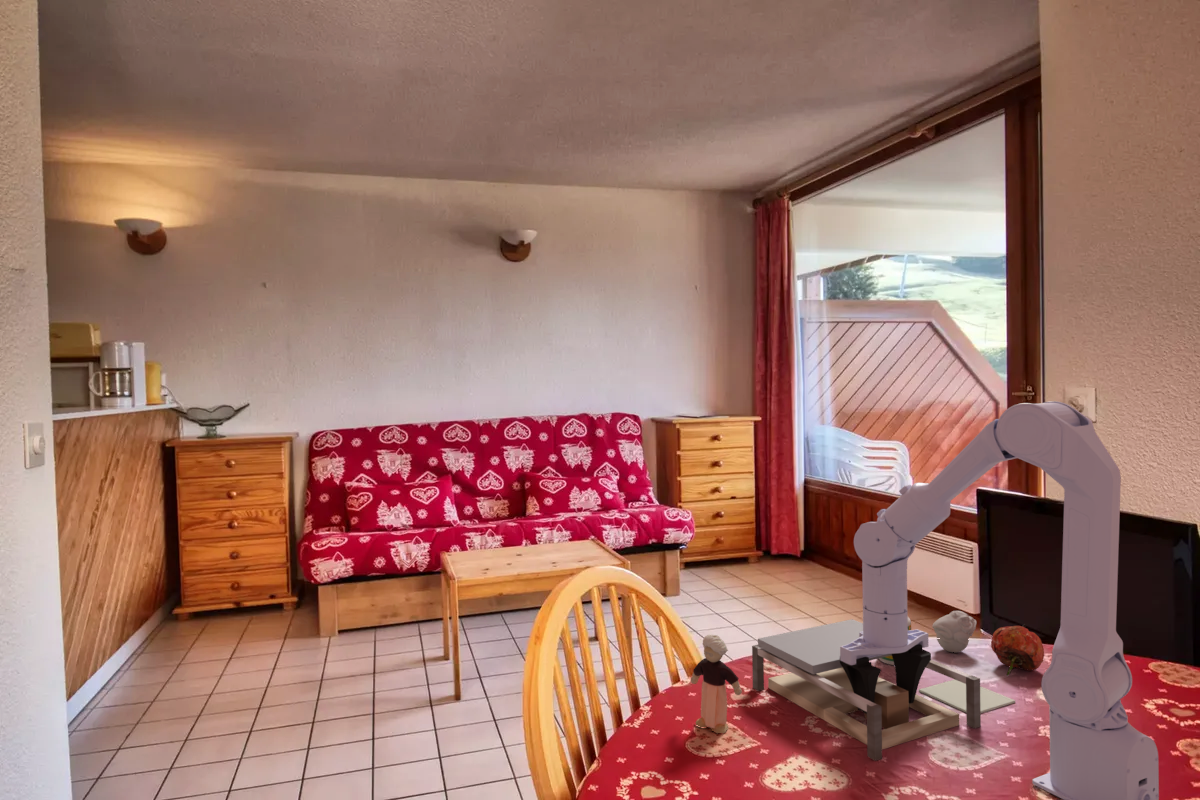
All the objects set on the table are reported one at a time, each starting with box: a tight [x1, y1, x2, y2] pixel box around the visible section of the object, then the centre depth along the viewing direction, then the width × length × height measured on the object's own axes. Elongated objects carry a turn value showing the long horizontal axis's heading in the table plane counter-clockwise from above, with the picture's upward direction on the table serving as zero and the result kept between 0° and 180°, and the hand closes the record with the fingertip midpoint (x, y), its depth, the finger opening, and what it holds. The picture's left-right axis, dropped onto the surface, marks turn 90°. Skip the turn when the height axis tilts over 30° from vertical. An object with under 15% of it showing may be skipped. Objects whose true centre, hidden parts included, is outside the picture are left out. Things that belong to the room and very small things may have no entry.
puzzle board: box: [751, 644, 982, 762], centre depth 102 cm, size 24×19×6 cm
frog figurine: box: [932, 610, 977, 654], centre depth 122 cm, size 6×7×7 cm
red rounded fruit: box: [990, 623, 1045, 677], centre depth 114 cm, size 7×7×10 cm
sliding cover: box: [757, 618, 892, 674], centre depth 106 cm, size 12×19×1 cm, turn 115°
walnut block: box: [864, 680, 910, 729], centre depth 98 cm, size 4×4×4 cm
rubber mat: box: [918, 679, 1016, 714], centre depth 104 cm, size 9×9×1 cm
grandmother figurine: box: [690, 634, 743, 734], centre depth 96 cm, size 8×4×13 cm, turn 62°
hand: (885, 706), depth 98 cm, fingers open, 7 cm apart
